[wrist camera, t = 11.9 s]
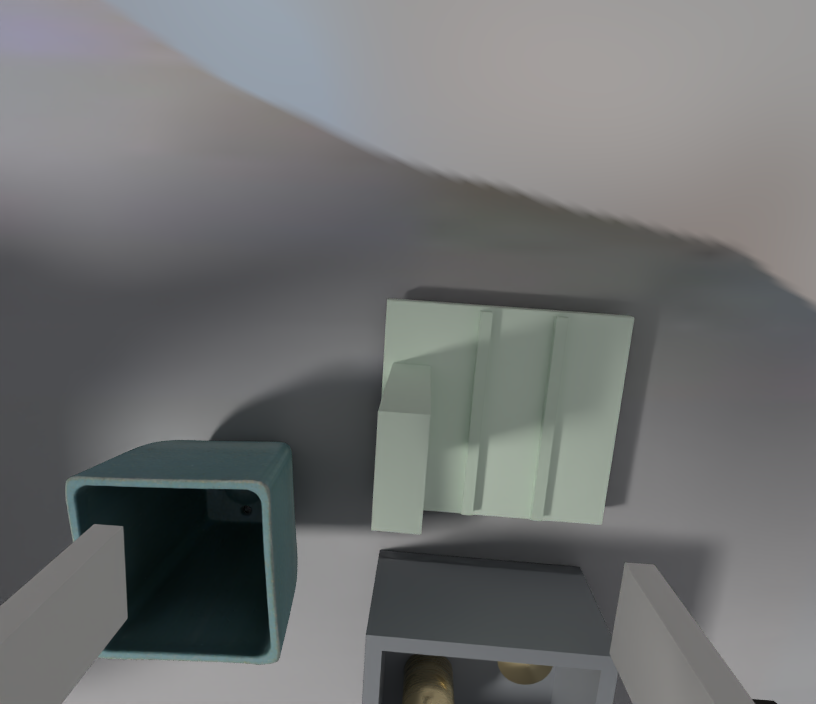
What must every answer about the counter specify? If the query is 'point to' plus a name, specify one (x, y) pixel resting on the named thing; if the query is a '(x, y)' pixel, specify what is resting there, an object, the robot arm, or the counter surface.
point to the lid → (496, 412)
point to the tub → (487, 629)
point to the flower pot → (197, 547)
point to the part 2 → (524, 672)
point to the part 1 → (428, 680)
